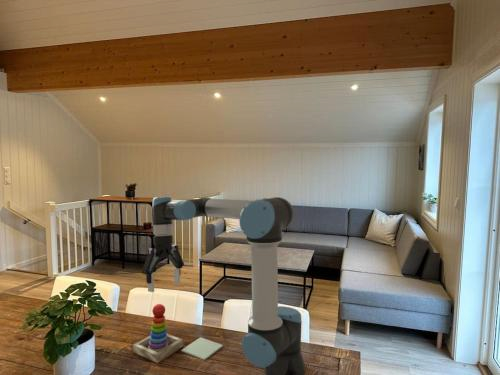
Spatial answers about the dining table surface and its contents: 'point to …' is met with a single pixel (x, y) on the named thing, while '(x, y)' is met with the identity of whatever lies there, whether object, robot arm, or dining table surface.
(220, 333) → the dining table surface
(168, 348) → the birch holder
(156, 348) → the stacking toy
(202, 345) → the sage mat
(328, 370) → the dining table surface
